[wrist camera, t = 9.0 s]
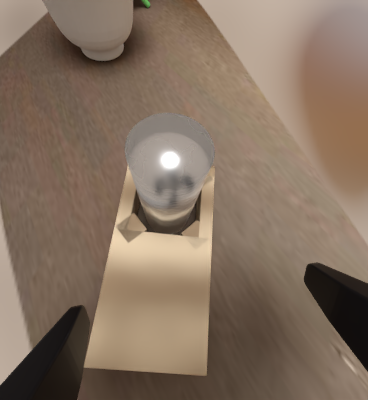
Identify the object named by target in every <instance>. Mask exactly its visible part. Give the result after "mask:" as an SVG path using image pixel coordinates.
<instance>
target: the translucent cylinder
mask: <svg viewBox="0 0 368 400" xmlns="http://www.w3.org/2000/svg"><path fill="white" fill-rule="evenodd" d="M214 155H215V150H214V144H213V141H212V138H211V136H210V135H209V133H208V132H207V130H206V129H205V128H204V127H203V126H202V125H201V124H200V123H198V122H197V121H195V120H194V119H192V118H190V117H187V116H184V115H181V114H176V113H160V114H155V115H152V116H149V117H147V118H145V119H143V120H141V121H140V122H139V123H137V124H136V125H135V126H134V127H133V128H132V130H131V131H130V133H129V134H128V137H127V139H126V143H125V156H126V160H127V163H128V166H129V169H130V172H131V175H132V178H133V181H134V184H135V187H136V190H137V193H138V196H139V199H140V202H141V205H142V208H143V212H144V215H145V218H146V221H147V223H148V225H149V226H150V227H151V228H152V229H153V230H154V231H156V232H158V233H161V234H174V233H177V232H178V231H180V230H181V229H182V228H183V227H184V226H185V225H186V223H187V221H188V219H189V217H190V214H191V212H192V210H193V207H194V205H195V203H196V200H197V198H198V196H199V194H200V191H201V189H202V187H203V184H204V182H205V180H206V178H207V175H208V173H209V171H210V168H211V166H212V164H213V161H214Z"/></svg>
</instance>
